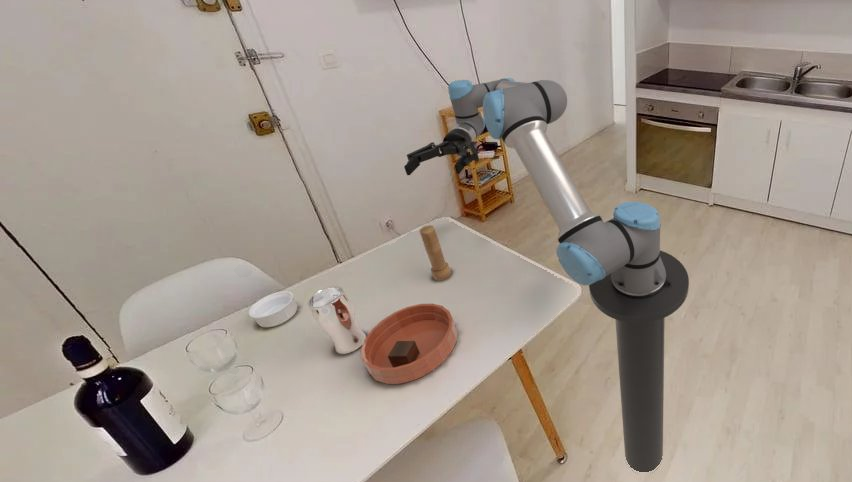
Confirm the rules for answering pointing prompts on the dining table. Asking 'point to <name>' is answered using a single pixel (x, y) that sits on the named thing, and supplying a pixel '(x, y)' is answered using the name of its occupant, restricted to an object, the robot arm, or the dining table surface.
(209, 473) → the dining table surface
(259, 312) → the ramekin
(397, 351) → the walnut block
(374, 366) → the bowl
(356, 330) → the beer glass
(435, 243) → the muddler
